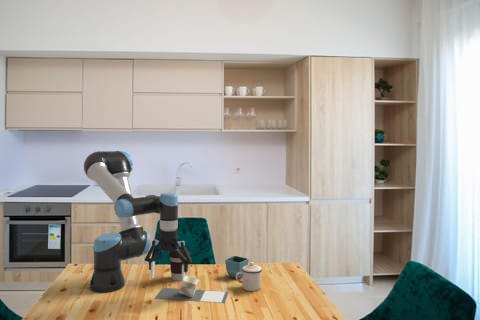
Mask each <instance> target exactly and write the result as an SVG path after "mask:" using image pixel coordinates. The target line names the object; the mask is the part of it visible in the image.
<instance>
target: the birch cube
mask: <svg viewBox="0 0 480 320" xmlns="http://www.w3.org/2000/svg"><path fill="white" fill-rule="evenodd" d="M199 281H200V279H197V278H195V277H192V276H188V274H187V275H186V276H185V278H184V279H183V280H182V281H181V285H180V288H179V289H180V291H179V294H182V295H185V296H188V297H191V298H192V297H193V296H194V294H195V292H196V290H197V287H198V285H199Z"/></svg>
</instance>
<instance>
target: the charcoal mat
mask: <svg viewBox="0 0 480 320" xmlns="http://www.w3.org/2000/svg"><path fill="white" fill-rule="evenodd" d="M179 291H180V288H174V287H162V288H161V289H160V291H159V292H158V293H157V294H156V296H154V298H153V299H154V300H166V301H167V300H168V301H170V300H171V301H182V302H183V301H186V302H188V301H189V302H201V303H203V302H204V303H215V304H216V303H217V304H226V301H227V298H228V295H229V294H230V292H229V291H227V290H226V291H223V290H221V291H220V290H209V289H208V290H204V289H196V292H195V294H194V296H193V297H192V298H191V297H188V296H185V295H182V294H179Z"/></svg>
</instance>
